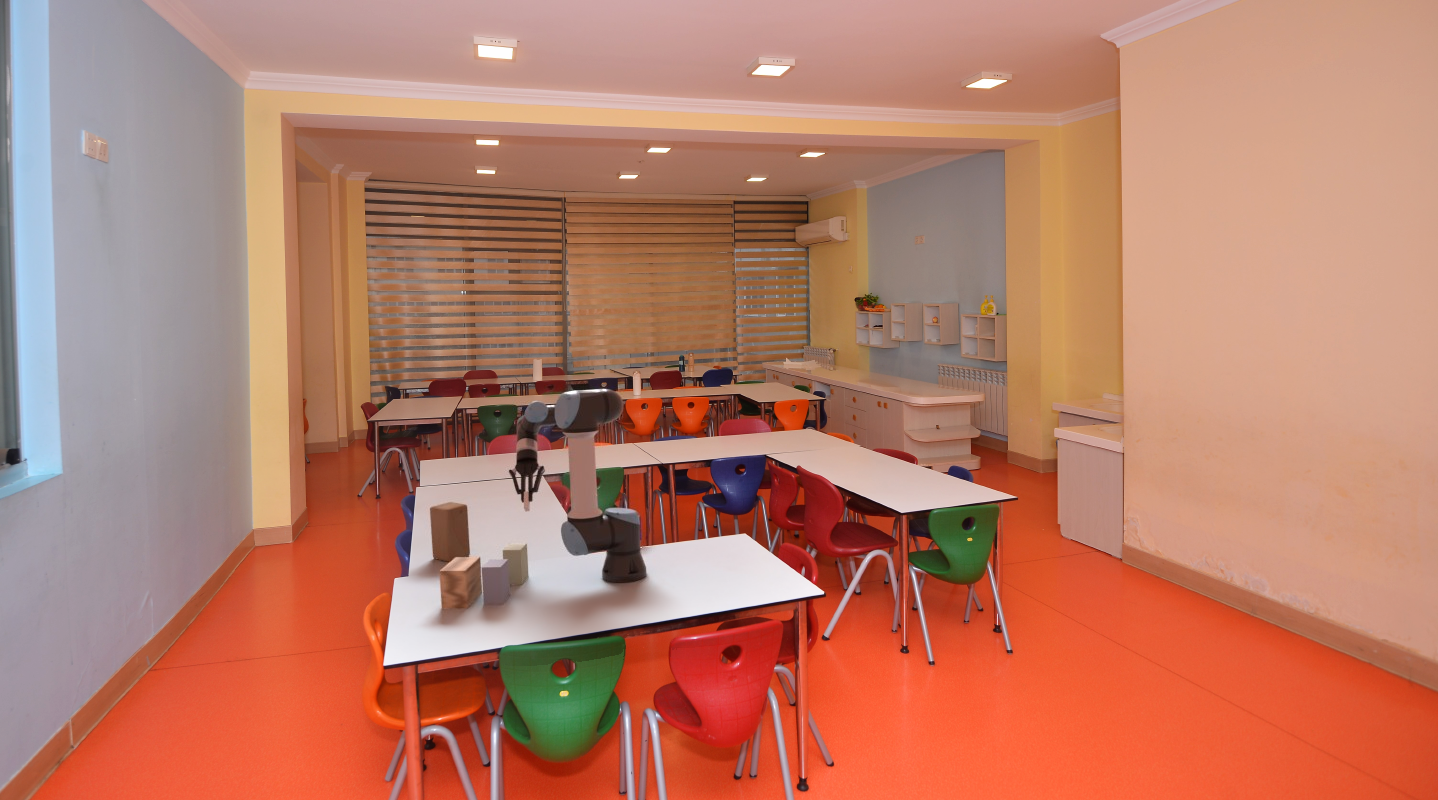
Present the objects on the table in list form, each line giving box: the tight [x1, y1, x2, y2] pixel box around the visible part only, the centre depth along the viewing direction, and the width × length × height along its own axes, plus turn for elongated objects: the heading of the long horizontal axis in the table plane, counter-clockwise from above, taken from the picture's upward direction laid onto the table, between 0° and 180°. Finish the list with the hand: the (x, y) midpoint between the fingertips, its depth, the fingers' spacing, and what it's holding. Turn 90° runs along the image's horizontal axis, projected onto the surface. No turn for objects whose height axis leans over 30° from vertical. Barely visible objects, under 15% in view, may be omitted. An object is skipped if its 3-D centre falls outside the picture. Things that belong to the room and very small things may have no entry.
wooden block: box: [429, 501, 471, 563], centre depth 294 cm, size 10×10×20 cm
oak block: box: [438, 556, 483, 610], centre depth 248 cm, size 8×14×12 cm, turn 178°
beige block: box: [502, 542, 530, 586], centre depth 265 cm, size 6×8×12 cm
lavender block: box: [481, 558, 511, 606], centre depth 247 cm, size 6×8×12 cm
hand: (526, 509), depth 274 cm, fingers closed
